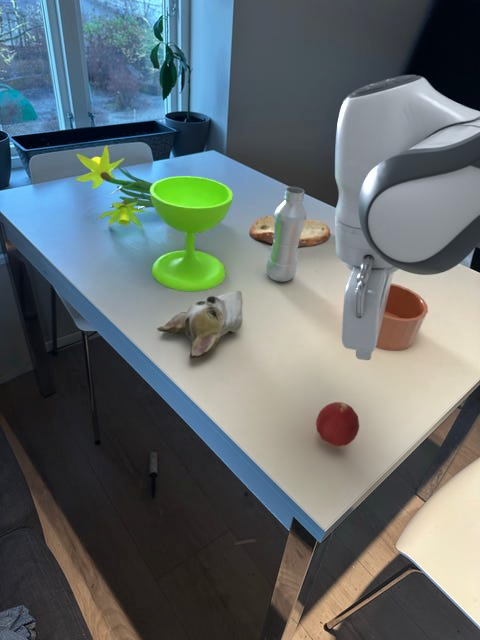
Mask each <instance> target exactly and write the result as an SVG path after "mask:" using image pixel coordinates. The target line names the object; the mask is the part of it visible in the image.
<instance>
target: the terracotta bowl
mask: <svg viewBox="0 0 480 640" xmlns="http://www.w3.org/2000/svg"><path fill="white" fill-rule="evenodd" d="M428 313H429V308H428V304H427V303H426V301H425V300H424V298H422V297H421V296H420V295H419V294H418V293H416V292H415V291H413V290H411V289H410V288H407V287H405V286H403V285H400V284H396V283H392V282H391V286H390V290H389V294H388V298H387V303H386V307H385V311H384V315H383V320H382V324H381V328H380V332H379V337H378V341H377V345H376V348H378V349H380V350H385V351H392V352H393V351H396V352H397V351H404V350H406V349H409V348H410V347H412V346H413V345H414V344H415V341H416V339H417V337H418V335H419V333H420V331H421V329H422V326H423V324H424V321H425V320H426V317H427V315H428Z"/></svg>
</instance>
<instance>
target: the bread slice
mask: <svg viewBox="0 0 480 640" xmlns="http://www.w3.org/2000/svg"><path fill="white" fill-rule="evenodd" d="M248 235H249V236H250V237H251V238H252V239H253V240H255V241H261V242H264V243H267V244H270V245H273V239H274V216H273V215H270V216H269V215H266V216H263V217H260V218H258V219H257V220H256V221H255V222H253V223H252V225H251V226H250V229H249V232H248ZM330 237H331V230H330V227H328V225H327V224H326V223H325V222H323V221H321V220H315V219H308V218H306V221H305V224H304V227H303V230H302V233H301V236H300V240H299V244H298V248H300V247H312V246H316V245H320V244H323V243H325V242H327V241H328V240H329V239H330Z"/></svg>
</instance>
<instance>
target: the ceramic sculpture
mask: <svg viewBox="0 0 480 640" xmlns="http://www.w3.org/2000/svg"><path fill="white" fill-rule="evenodd" d="M243 321H244V319H243V294H242V291H241V290H238V291H234V292H227V293H224V294H222V295H220V296H214V295H209V296H206V298H205V299H204V300H201V301H200V300H199V301H197V302H195V304H193V305H190V306H189V307H188V308H187V309H186V311H181V312H180V313H178V314H176V315H174V316H173V317H172V318H171V319H170V320H168V322H166V324H164V325H162V326H159V327H157V328H156V329H157V331H158V332H161V333H166V334H171V335H179V334H181V333H183V332H185V335H186V336H187V338H188V339H190V340H191V341H192V344H191V346H190V353H189V356H188V359H189V360H195V359H200V358H203V357H205V356H207V355H209V354H210V353H211V352H212V351H213V350H214V349H215V347H217V345H218V343H219V341H220V339H221V337H223V336H225V334H227V333H228V332H232V333H236V332H238V331H239V330H240V329H241V328H242V326H243Z"/></svg>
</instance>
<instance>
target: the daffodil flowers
mask: <svg viewBox="0 0 480 640" xmlns="http://www.w3.org/2000/svg"><path fill="white" fill-rule="evenodd" d="M76 156H77V158H78V159H79V161H80V162H81V163H82V164H83V166H85V167H86V168H87V169H88V170H90V172H88V173H85V174H82V175H80V176H78V177H76V178H74V179H73V181H78V182H81V183H82V182H83V183H84V182H90V181H92V184H91V190H96V189H98V188H99V187H100V186H101V185H102V184H103V183H104V181H105V182H107V183H110V184H113V185H117V186H116V189H115V190H113V191H112V192H111V193H109V194H108V197H109V196H111V195H113V194H114V193H116V192H118V191H120V192H122V193H123V194H124V195H126V196H118V198H119V199H120V200H122V201H121V202H119V201H117V202H111V206H109V209H111V208H115V209H112V210H108V211H105V212H103V213H101V214H100V215H99V216H98V217H96V219H102V218H106V217H110V218H109V221H108V226H111V225H114V224H115V223H117V224H118V225H120V226H122V227H126V226H127V227H128V226H130V224H131V222H130V221H132V222H133V223H134V224H135V225H137V226H138V227H139V228H140V229H144V226H143V225H142V223H141V221H140V220H139V219H138V217H137V215H135V214H136V213H138V214H139V213H148V214H153V212H152V211H148V210H145V209H146V208H147V209H148V208H154V205H153V203H152V201H151V195H150V187H151V186H152V184H153V183H154V182H149V181H146V180H144V179H141V178H139V177H136V176H134V175H132V174H131V173H130V172H129V171H128V170H127V169H126V168H125V167H124V166H122V168H123V169H124V170H123V169H122V168H120V167H119V165H120V164H121V163H122V162H123V161H124V160H125V159H126V158H125V157H122V158H121V159H120V160H117V161H114V162H112V163H110V152H109V148H108V144H105V146H104V148H103V152H102V154H101V157H99V155H98V156H97V155H96V156H94V157H92V158H89V157H88V156H84V155H82V154H79V153H76ZM116 168H117V169H118V170H119V171H120V172H121V173H122V174H123V175H124V176H125V177H126V178H129V179H130V180H126V179H119V178H116V176H115V175H114V174H113V173H112V172H111V171H113V170H114V169H116ZM127 196H129V197H127ZM136 206H138V207H136ZM154 209H155V208H154Z"/></svg>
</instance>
